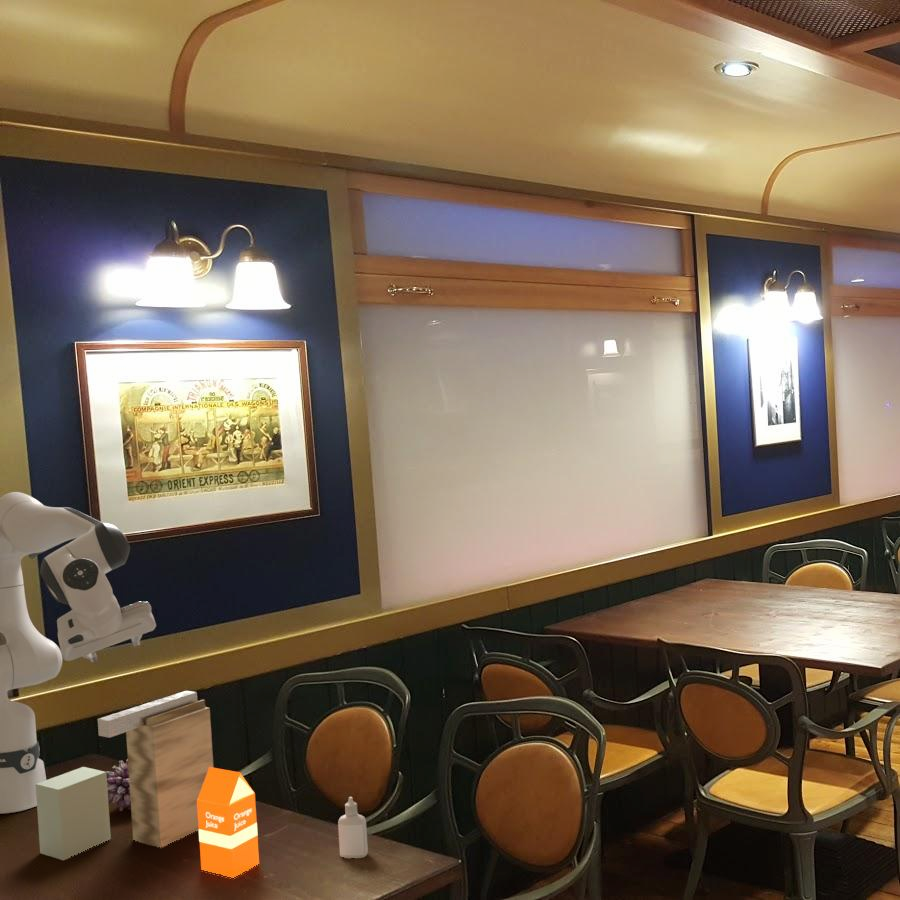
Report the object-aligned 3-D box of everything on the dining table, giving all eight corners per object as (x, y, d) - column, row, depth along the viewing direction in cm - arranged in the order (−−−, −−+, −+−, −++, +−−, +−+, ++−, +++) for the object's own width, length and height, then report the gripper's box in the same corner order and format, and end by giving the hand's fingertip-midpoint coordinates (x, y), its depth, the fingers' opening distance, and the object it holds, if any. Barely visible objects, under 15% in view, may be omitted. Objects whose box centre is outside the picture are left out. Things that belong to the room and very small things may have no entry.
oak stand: (133, 840, 227) (124, 715, 227) (189, 815, 241) (181, 696, 240) (160, 848, 222) (152, 719, 222) (216, 821, 236) (209, 700, 235)
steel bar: (98, 735, 218) (97, 718, 218) (187, 705, 238) (186, 690, 237) (109, 737, 216) (108, 720, 216) (197, 707, 236) (196, 692, 235)
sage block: (40, 853, 223) (35, 783, 223) (87, 833, 233) (83, 766, 233) (63, 860, 219) (58, 789, 218) (110, 839, 229) (106, 771, 228)
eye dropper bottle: (356, 862, 210) (352, 803, 209) (336, 856, 213) (333, 798, 213) (371, 854, 213) (367, 796, 213) (351, 848, 217) (348, 791, 216)
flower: (110, 823, 238) (107, 771, 238) (99, 808, 249) (96, 758, 248) (161, 811, 244) (158, 761, 244) (148, 796, 254) (145, 748, 254)
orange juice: (232, 879, 205) (226, 778, 204) (200, 871, 210) (194, 772, 209) (260, 863, 212) (254, 766, 211) (228, 856, 216) (222, 760, 216)
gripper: (144, 588, 227) (158, 623, 237) (49, 622, 221) (67, 656, 231) (151, 610, 223) (165, 645, 233) (54, 645, 217) (72, 679, 227)
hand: (115, 651), depth 232 cm, fingers open, 8 cm apart
